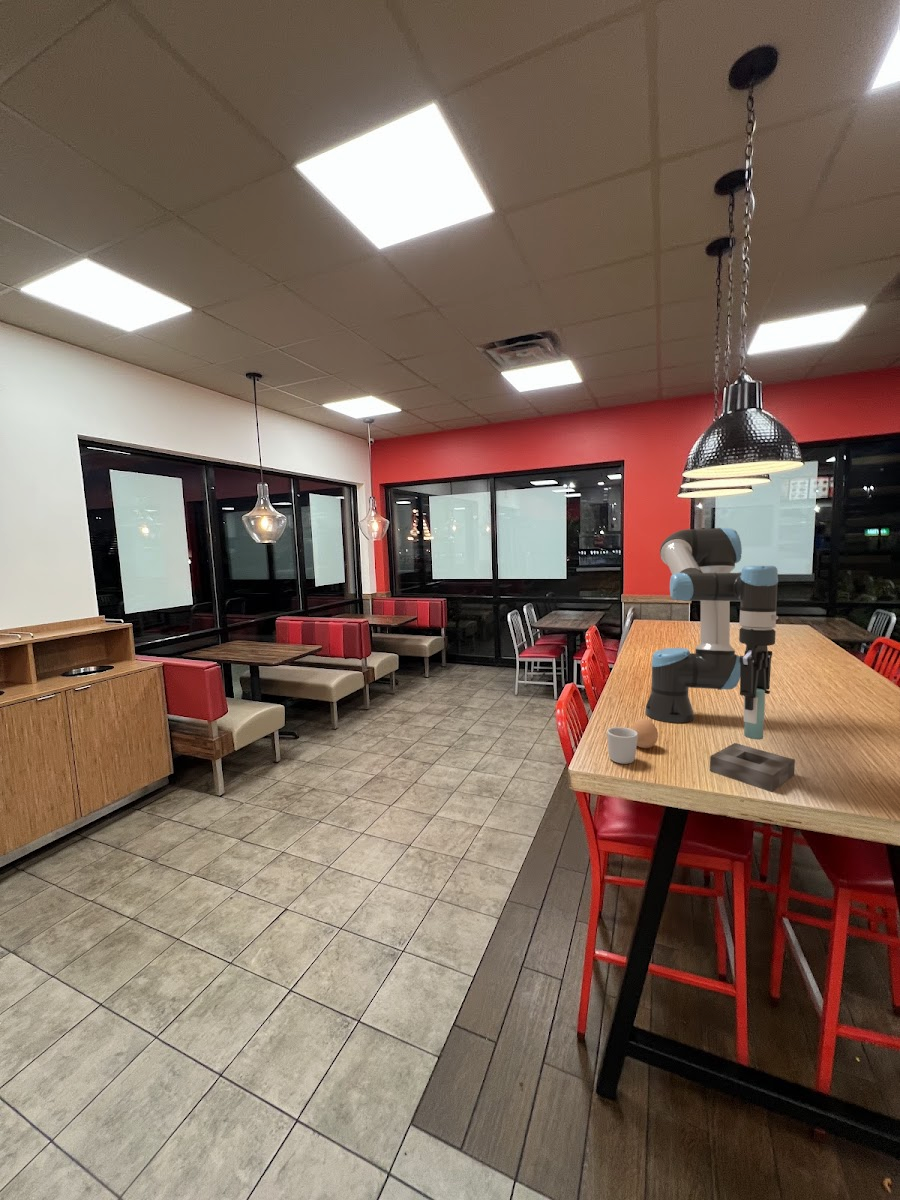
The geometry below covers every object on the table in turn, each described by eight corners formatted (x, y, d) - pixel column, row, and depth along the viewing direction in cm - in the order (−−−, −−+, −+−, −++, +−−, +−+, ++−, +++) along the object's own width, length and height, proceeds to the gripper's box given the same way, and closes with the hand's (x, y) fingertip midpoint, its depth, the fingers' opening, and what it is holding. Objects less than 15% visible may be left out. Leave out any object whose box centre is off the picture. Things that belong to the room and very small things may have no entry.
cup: (597, 751, 136) (598, 723, 135) (624, 749, 136) (625, 722, 136) (613, 767, 125) (614, 737, 124) (642, 765, 126) (643, 736, 125)
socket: (709, 770, 122) (710, 755, 122) (734, 756, 130) (734, 742, 130) (771, 791, 111) (772, 775, 110) (794, 774, 119) (794, 759, 119)
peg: (741, 736, 120) (742, 689, 119) (748, 732, 122) (749, 686, 121) (759, 740, 117) (760, 692, 116) (765, 737, 119) (767, 690, 118)
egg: (624, 745, 140) (625, 716, 139) (643, 741, 143) (644, 713, 142) (644, 754, 133) (644, 724, 132) (663, 749, 136) (664, 720, 135)
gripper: (760, 632, 109) (756, 731, 111) (788, 626, 119) (784, 717, 121) (725, 629, 115) (722, 723, 117) (754, 623, 125) (751, 710, 127)
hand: (753, 720), depth 119 cm, fingers closed on peg, 4 cm apart
